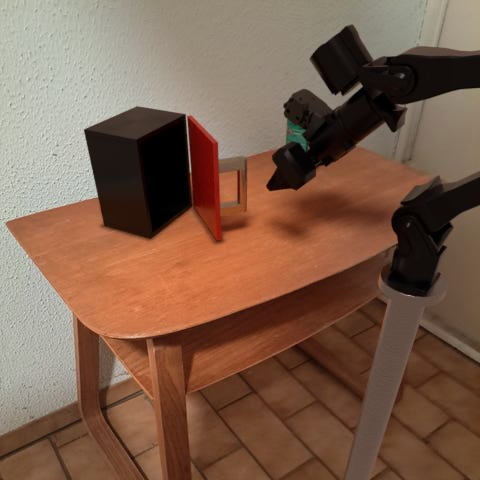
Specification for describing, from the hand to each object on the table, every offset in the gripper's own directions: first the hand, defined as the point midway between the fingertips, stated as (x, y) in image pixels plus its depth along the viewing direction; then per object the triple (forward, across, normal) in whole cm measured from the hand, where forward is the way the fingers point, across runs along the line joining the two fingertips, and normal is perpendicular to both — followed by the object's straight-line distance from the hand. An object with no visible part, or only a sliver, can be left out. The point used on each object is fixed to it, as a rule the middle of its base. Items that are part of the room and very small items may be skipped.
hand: (282, 178), depth 79 cm
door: (+12, +6, -1) cm, 13 cm away
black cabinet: (+20, +12, -9) cm, 25 cm away
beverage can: (+12, -24, -1) cm, 27 cm away
